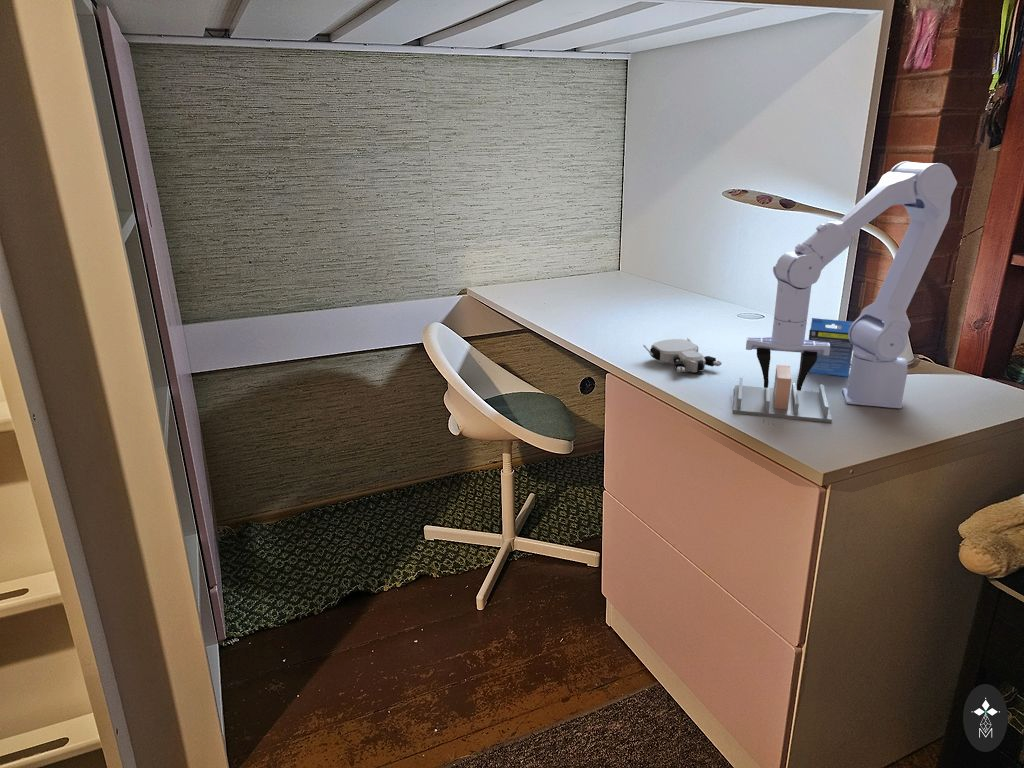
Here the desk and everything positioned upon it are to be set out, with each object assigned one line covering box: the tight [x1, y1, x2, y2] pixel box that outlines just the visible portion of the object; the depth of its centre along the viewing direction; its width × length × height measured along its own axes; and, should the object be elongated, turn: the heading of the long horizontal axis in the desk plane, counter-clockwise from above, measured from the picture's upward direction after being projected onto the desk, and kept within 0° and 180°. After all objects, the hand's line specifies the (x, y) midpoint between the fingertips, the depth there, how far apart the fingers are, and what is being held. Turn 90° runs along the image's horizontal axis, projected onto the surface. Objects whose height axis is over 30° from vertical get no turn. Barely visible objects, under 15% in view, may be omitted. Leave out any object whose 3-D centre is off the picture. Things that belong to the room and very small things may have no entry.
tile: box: [773, 364, 792, 409], centre depth 132 cm, size 2×8×6 cm, turn 162°
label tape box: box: [808, 317, 854, 378], centre depth 147 cm, size 9×4×12 cm, turn 66°
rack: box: [732, 377, 833, 423], centre depth 132 cm, size 17×14×3 cm
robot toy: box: [642, 337, 722, 373], centre depth 155 cm, size 12×4×15 cm
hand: (782, 387), depth 132 cm, fingers open, 5 cm apart
